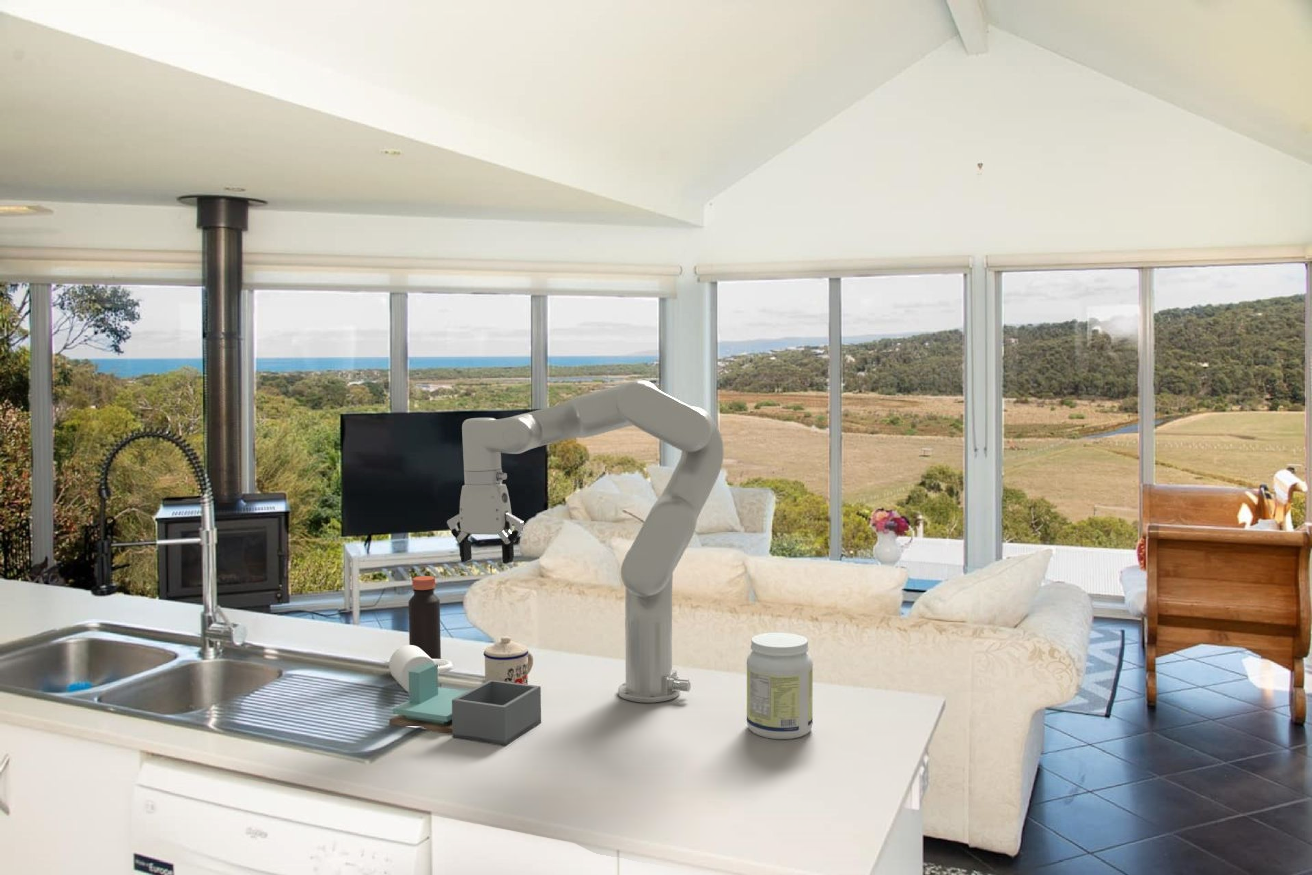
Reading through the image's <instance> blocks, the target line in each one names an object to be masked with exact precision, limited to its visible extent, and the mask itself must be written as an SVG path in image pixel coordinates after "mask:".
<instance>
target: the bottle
mask: <svg viewBox="0 0 1312 875" xmlns="http://www.w3.org/2000/svg"><path fill="white" fill-rule="evenodd" d="M411 579H412V580H411V581H412V583H411V584H412V586H411V587H412V591H413V595H412V597H410V599H409V600H408V634H409V635H408V639H409V640H408V641H409V642H408V643H409V644H408V645H414V646H417V647H419V648H420V649H421V650H423V651H424V652H425V653H426V654H427V655H428V656H429V657H430V658H431V659H442V656H441V655H442V654H441V653H442V651H441V650H442V649H441V645H442V644H441V643H442V642H441V601H440V598H439V597H438V596H437V595H436V594H435V590H436V589H435V588H436V578H435V577H434V576H432V575H422V576H421V575H420V576H415V577H413V578H411Z"/></svg>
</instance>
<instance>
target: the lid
mask: <svg viewBox="0 0 1312 875" xmlns="http://www.w3.org/2000/svg"><path fill="white" fill-rule="evenodd" d="M468 691H469V690H462V689H461V690H460V689H457V688H456V689H454V688H448V687H442V686H439V675H438V664H430V663H426V664H424V665H422V666H420V667H417V668H415V669H413V670H411V671H409V692H408V693H409V694H408V700H406V701H404V702H403V703H400V704H398V705H396V706H395V707H392V714H395V715H399V714H400V715H406V718H409V719H416V720H422V721H429V722H435V723H441V724H445V723H447V722H449V721H451V720H452V700H453V699H454V698H456V697H458V696H460V695H462V694H464V693H466V692H468Z"/></svg>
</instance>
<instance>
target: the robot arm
mask: <svg viewBox="0 0 1312 875" xmlns="http://www.w3.org/2000/svg"><path fill="white" fill-rule="evenodd" d="M630 426H634V427H636V429H639V430H641V431H643V432H645V433H646V434H649V435H650V436H652V437H654V438H656V439H658V440H660V441H661V442H663V443H666V444H667V445H670V446H671V447H673V448H675V449H677V450H679V451H681V453H680V458H679V461H678V463H677V464H676V466H675V468H674V470H673V473H672V474H671V476H670V479H669V480H668V483H667V484H666V486H665V488H664V490H663V491H662V493H661V494H660V496H659V498H658V499H657V500H656V501H655V502H654V504H653V506H652V507H651V509H650V510H649V513H648V515H647V516H646V518H645V520H644V522H643V524H642V526H641V528H640V529H639V532H638V533H637V534H636V537H635V539H634V541H633V542H632V545H631V546H630V548H629V549H628V551H627V552H626V554H625V556H624V559H623V561H622V563H621V567H620V577H621V578H620V579H621V580H622V583H623V586H624V587H625V598H624V599H625V602H624V604H625V607H624V609H625V610H624V611H625V619H624V620H625V621H624V626H625V627H624V629H625V632H624V633H625V635H624V636H625V637H624V638H625V639H624V640H625V643H624V645H625V647H624V648H625V682H624V683H621V684H620V685H619V686H618V688H617V693H618V695H619V697H620V698H622V699H625V700H626V701H631V702H635V703H643V704H644V703H646V704H647V703H648V704H649V703H661V702H666V701H671V700H674V699H676V698H677V697H678V696H679V695H680V694H681V693H680V692H681V691H682V692H690V690H691V687H692V686H691V682H690V680H689V678H679V677H678V676H677V675H678V674H677V673H678V671H677V670H676V669H675V670H673V578H674V576H673V573H674V571H675V569H676V568H677V566H678V564H679V562H680V560H681V559H682V558H683V555H684V554H685V551H686V550H687V547H688V545H689V544H690V542H691V540H692V538H693V536H694V533H695V530H696V526H697V521H698V518H699V516H700V514H701V512H702V510H703V508H704V506H705V504H706V502H707V500H708V498H709V497H710V494H711V492H712V490H713V488H714V487H715V484H716V482H717V480H718V477H719V476H720V472H721V471H722V470H721V469H722V466H723V463H724V462H723V461H724V451H725V450H724V443H723V438H722V434H721V432H720V428H719V426H717V424H716V422H715V420H714V418H712V416H711V415H710V414H709V412H707V411H706V410H705V409H703V408H702V407H698V406H694V405H693V406H692V405H689V404H686V403H684V402H682V401H680V400H678V399H677V398H675V397H672V396H671V395H669V394H667V393H665V392H663V391H661V390H660V389H659V388H658V387H657V386H656V385H655V384H654V383H653V382H651V381H648V380H645V379H637V380H633V381H628V382H626V383H623V384H619V385H615V386H612V387H608V388H604V389H600V390H597V391H593V392H589V393H586V394H582V395H581V394H580V395H578V396H575V397H572V398H571V399H569V400H567V401H564V402H561V403H558V404H556V405H552V406H549V407H545V408H542V409H538V410H533V411H530V412H526V413H521V414H518V415H513V416H510V417H504V418H498V419H496V418H494V417H473V418H467V419H465V420H464V421H463V422H462V425H461V430H462V431H461V433H462V436H461V437H462V453H463V454H462V456H463V475H464V485H462V487H461V493H460V499H459V513H458V514H456V515H455V516H453V517H451V518H450V519H448V520H447V521H446V524H447V527H449V529H450V532H451V535H452V536H453V537H454V538H455V541H456V542H457V543H458V546H459V557H460V562H462V563H465V562H468V561H471V560H472V558H473V556H472V541H471V540H470V538H471V536H472V535H487V536H488V535H495V536H496V535H498V537H499V538H500V539H501V540H502V541H503V543H502V544H501V555H502V556H501V558H502V563H503V564H504V565H505V564H509V563H512V562H513V561H514V556H515V553H514V552H515V551H514V550H515V549H514V543H515V542H516V541H517V539H518V537H519V536H521V533H522V532H521V531H523V528H524V525H525V522H524V520H522V519H520V518H518V517H517V516H515V515H513V514H512V508H511V506H512V505H511V501H510V496H509V490H508V488H507V485H506V484H505V483H503V480H507V479H508V474H507V473H506V472H503V469H502V454H511V455H513V454H514V455H516V454H517V455H519V454H522V453H524V452H527V451H530V450H532V449H535V448H538V447H543V446H546V445H549V444H554V443H558V442H562V441H565V440H569V439H570V440H571V439H579V438H580V439H582V438H583V439H584V438H590V437H594V436H598V435H601V434H605V433H608V432H609V433H610V432H613V431H615V430H619V429H620V430H621V429H623V428H627V427H630ZM458 523H459V527H460V528H459V527H458ZM512 529H513V530H512ZM511 530H512V531H511Z"/></svg>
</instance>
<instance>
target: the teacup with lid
mask: <svg viewBox="0 0 1312 875" xmlns="http://www.w3.org/2000/svg"><path fill="white" fill-rule="evenodd" d="M511 639H512V638H511V637H510V635H509V636H508V635H506V636H505V635H504V636H501V638H500V641H498V642H496V643H495V644H492V645H490V646H487V647H486V648H485V649H484V651H483V656H484V676H485V677H484V679H485V680H484V683H485V682H487V681H489V680H497V681H504V682H512V683H519V684H527V685H529V684H528V683H529V681H528V680H529V679H528V678H529V677H528V676H529V673H530V672H531V671H532V669H533V665H534V656H533V654H532V653H531V652H529V649H528V647H526V646H525V645H524V644H521V643H517V642H516V641H513V640H511Z"/></svg>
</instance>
